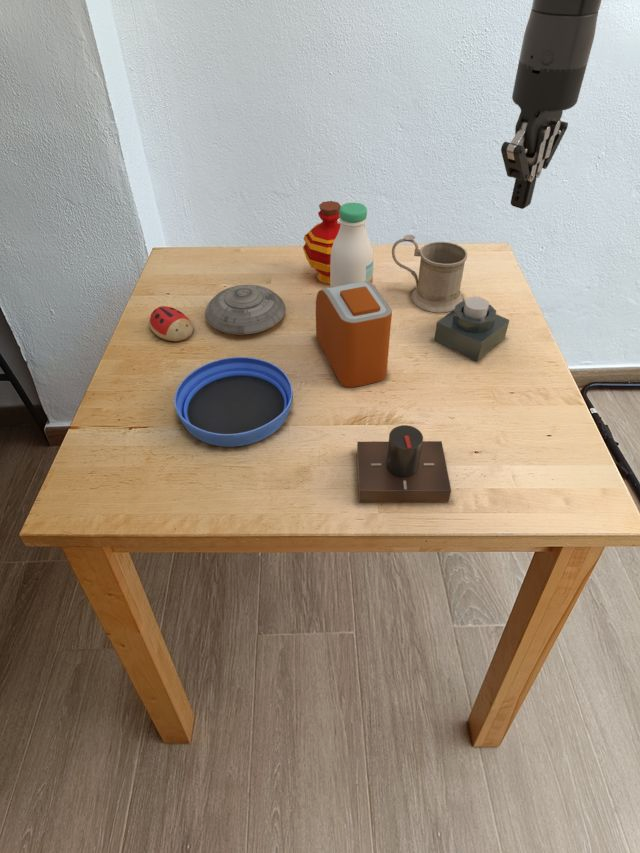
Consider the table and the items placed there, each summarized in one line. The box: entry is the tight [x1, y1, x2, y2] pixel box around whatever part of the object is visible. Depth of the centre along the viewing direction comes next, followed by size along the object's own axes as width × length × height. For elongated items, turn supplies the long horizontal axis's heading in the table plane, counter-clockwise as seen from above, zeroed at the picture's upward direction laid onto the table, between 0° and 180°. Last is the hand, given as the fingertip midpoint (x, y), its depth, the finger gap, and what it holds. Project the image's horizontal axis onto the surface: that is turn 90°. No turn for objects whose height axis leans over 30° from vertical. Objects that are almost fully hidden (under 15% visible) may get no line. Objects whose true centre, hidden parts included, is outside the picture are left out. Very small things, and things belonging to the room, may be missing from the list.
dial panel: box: [356, 440, 452, 503], centre depth 80 cm, size 12×9×3 cm
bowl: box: [173, 356, 294, 448], centre depth 90 cm, size 18×18×4 cm
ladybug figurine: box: [149, 305, 194, 342], centre depth 106 cm, size 7×10×4 cm
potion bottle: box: [302, 200, 342, 285], centre depth 114 cm, size 10×10×15 cm
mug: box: [391, 234, 468, 314], centre depth 109 cm, size 14×10×12 cm
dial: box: [386, 424, 424, 477], centre depth 78 cm, size 4×4×6 cm
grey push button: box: [463, 296, 490, 319], centre depth 99 cm, size 4×4×2 cm
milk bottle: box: [329, 202, 374, 288], centre depth 104 cm, size 8×8×20 cm
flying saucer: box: [204, 284, 287, 336], centre depth 108 cm, size 15×15×6 cm
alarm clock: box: [315, 281, 393, 388], centre depth 95 cm, size 15×8×14 cm, turn 18°
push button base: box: [433, 300, 510, 363], centre depth 101 cm, size 9×9×6 cm
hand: (519, 205), depth 79 cm, fingers closed
